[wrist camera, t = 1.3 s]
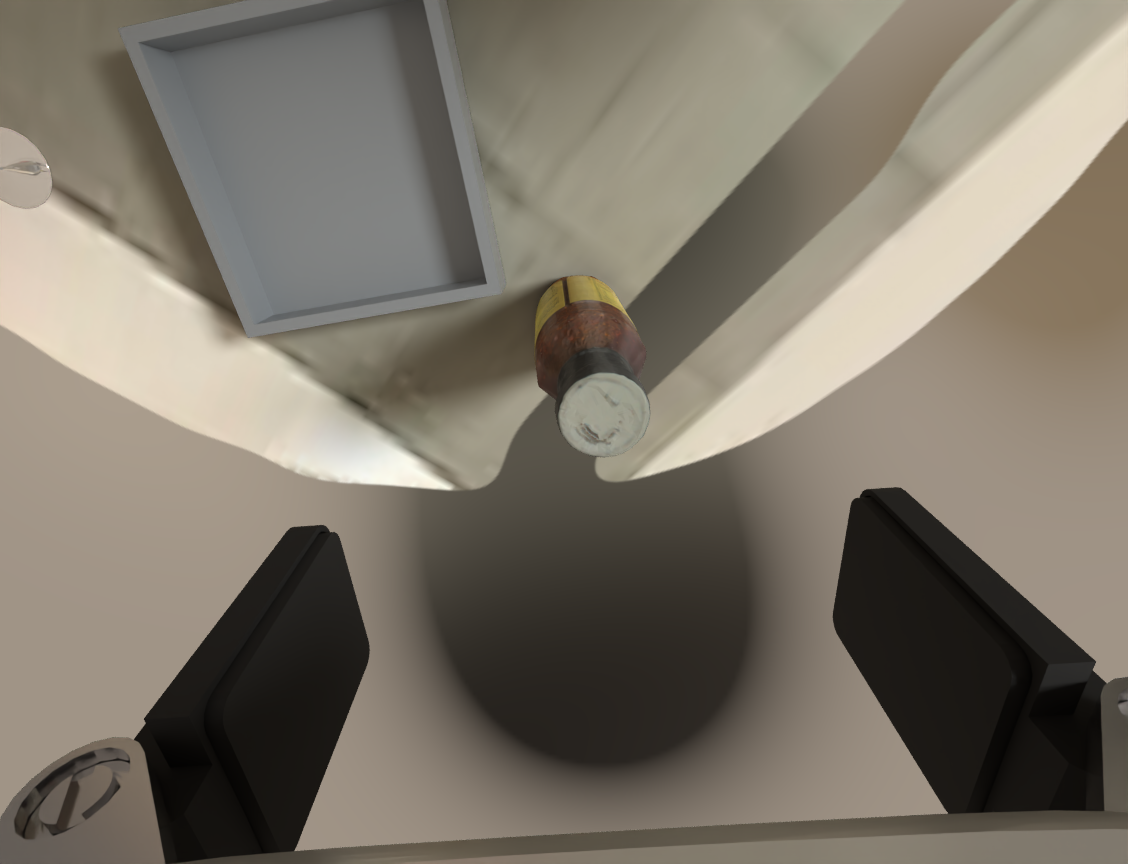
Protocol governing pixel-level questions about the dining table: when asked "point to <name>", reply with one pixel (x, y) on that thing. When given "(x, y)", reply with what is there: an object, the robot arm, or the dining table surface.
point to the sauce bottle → (591, 366)
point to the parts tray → (324, 155)
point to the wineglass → (22, 171)
